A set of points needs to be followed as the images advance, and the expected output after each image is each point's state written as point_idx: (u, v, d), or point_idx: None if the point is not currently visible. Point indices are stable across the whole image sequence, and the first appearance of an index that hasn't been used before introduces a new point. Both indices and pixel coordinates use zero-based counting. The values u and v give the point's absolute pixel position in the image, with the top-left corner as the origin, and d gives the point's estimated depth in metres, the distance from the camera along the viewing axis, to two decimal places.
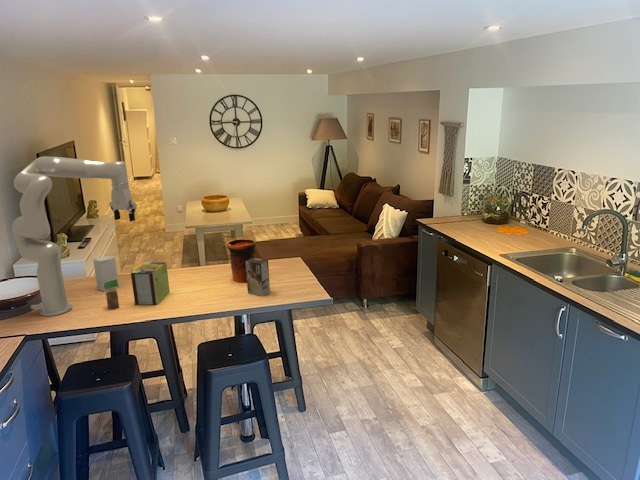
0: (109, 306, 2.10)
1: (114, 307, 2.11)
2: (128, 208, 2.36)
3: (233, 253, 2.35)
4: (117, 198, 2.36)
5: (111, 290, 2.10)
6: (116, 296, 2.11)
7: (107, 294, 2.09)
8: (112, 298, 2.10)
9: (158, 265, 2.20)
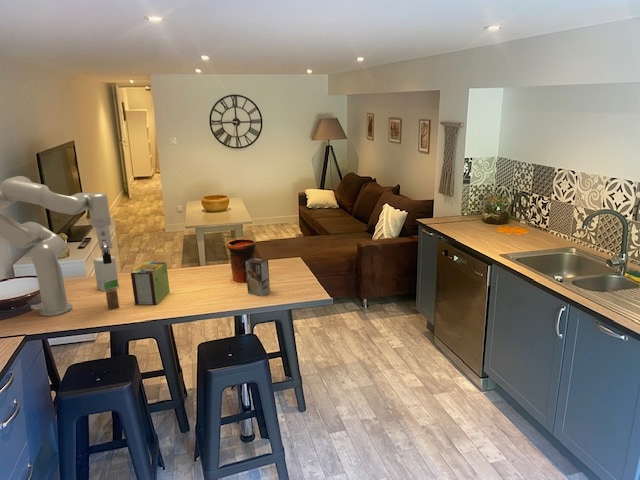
0: (109, 306, 2.10)
1: (114, 307, 2.11)
2: None
3: (233, 253, 2.35)
4: None
5: (111, 290, 2.10)
6: (116, 296, 2.11)
7: (107, 294, 2.09)
8: (112, 298, 2.10)
9: (158, 265, 2.20)
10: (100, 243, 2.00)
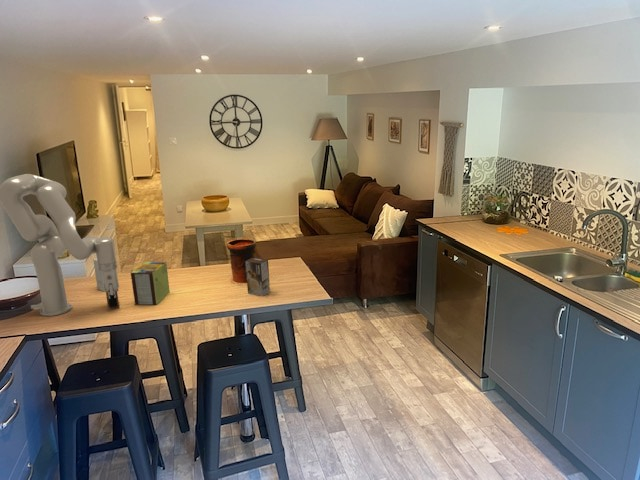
0: (109, 306, 2.10)
1: (114, 307, 2.11)
2: None
3: (233, 253, 2.35)
4: None
5: None
6: (116, 296, 2.11)
7: (107, 294, 2.09)
8: None
9: (158, 265, 2.20)
10: (106, 287, 2.05)
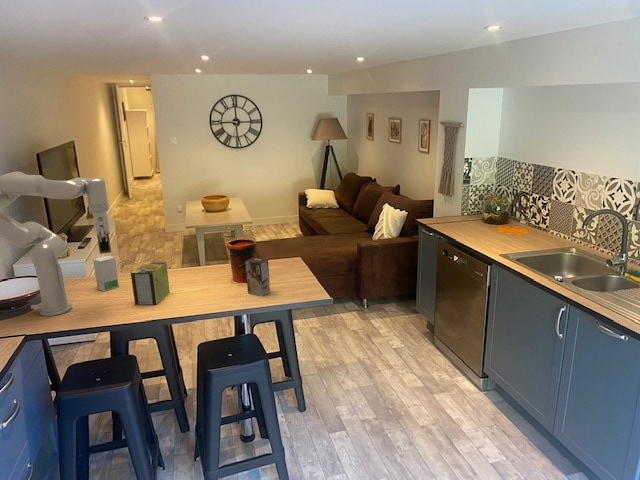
0: (100, 250, 2.03)
1: (106, 251, 2.04)
2: None
3: (233, 253, 2.35)
4: None
5: None
6: (108, 240, 2.04)
7: (98, 237, 2.02)
8: None
9: (158, 265, 2.20)
10: (97, 228, 1.98)
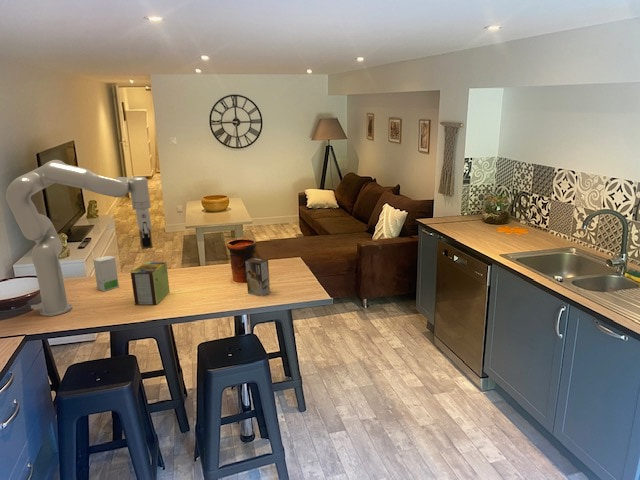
0: None
1: (147, 247, 2.13)
2: None
3: (233, 253, 2.35)
4: None
5: None
6: (150, 236, 2.13)
7: (141, 233, 2.11)
8: None
9: (158, 265, 2.20)
10: (141, 225, 2.07)
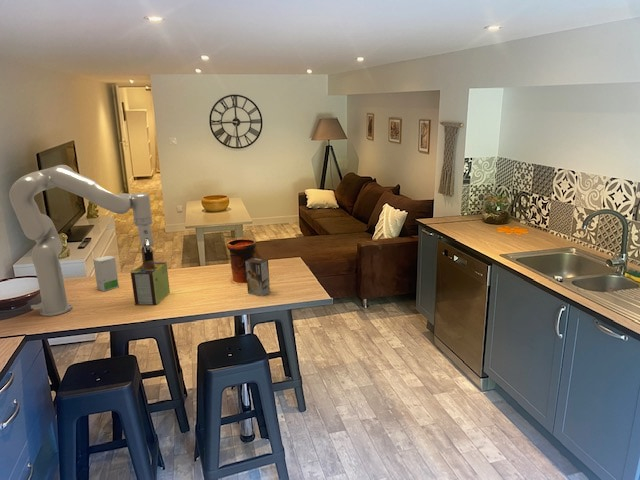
0: (145, 265, 2.15)
1: (150, 267, 2.16)
2: None
3: (233, 253, 2.35)
4: None
5: None
6: (152, 256, 2.15)
7: (143, 253, 2.13)
8: None
9: (158, 265, 2.20)
10: (142, 241, 2.09)
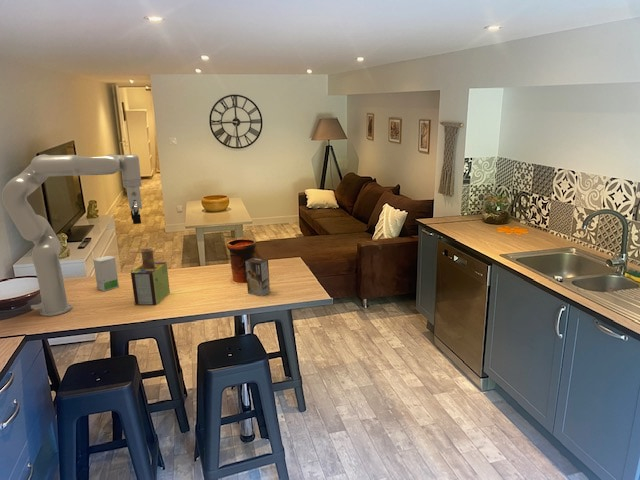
0: (145, 265, 2.15)
1: (150, 267, 2.16)
2: None
3: (233, 253, 2.35)
4: None
5: (146, 250, 2.15)
6: (152, 256, 2.15)
7: (143, 253, 2.13)
8: (148, 257, 2.14)
9: (158, 265, 2.20)
10: (131, 203, 2.06)
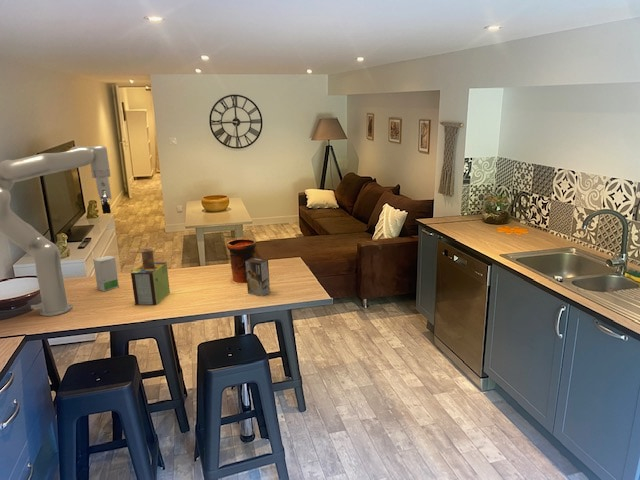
0: (145, 265, 2.15)
1: (150, 267, 2.16)
2: None
3: (233, 253, 2.35)
4: None
5: (147, 250, 2.15)
6: (152, 256, 2.15)
7: (143, 253, 2.13)
8: (148, 257, 2.14)
9: (158, 265, 2.20)
10: (100, 193, 2.10)
